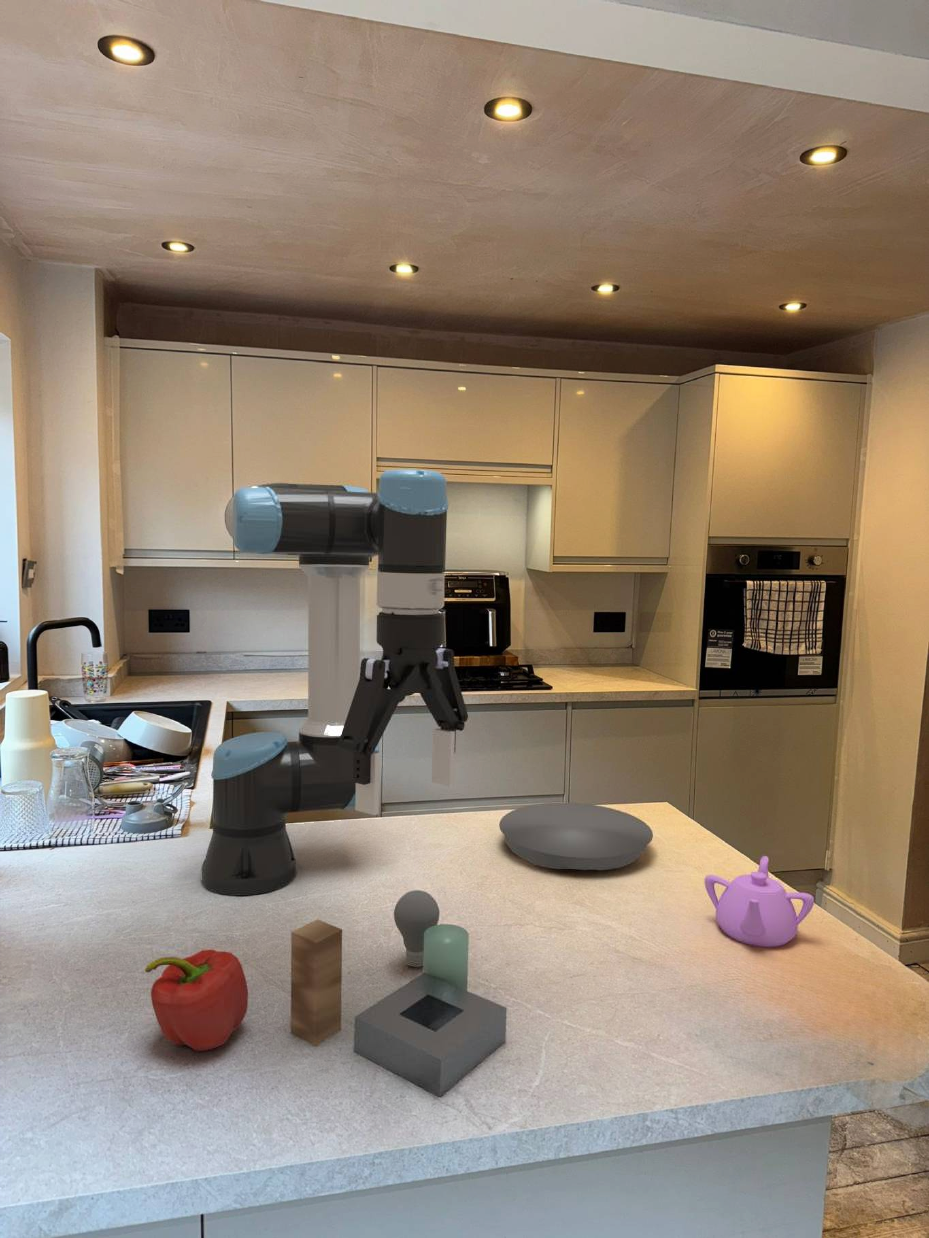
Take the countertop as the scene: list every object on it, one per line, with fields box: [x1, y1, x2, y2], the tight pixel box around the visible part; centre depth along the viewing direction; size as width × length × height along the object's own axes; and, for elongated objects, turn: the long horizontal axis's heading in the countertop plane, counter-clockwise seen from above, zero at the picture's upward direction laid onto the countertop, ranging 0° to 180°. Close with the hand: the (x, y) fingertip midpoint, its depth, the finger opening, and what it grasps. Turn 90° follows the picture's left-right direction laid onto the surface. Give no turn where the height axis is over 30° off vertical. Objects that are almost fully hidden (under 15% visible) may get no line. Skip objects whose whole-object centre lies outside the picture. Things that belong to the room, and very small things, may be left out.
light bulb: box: [393, 889, 440, 968], centre depth 109 cm, size 6×6×10 cm
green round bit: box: [422, 923, 470, 991], centre depth 102 cm, size 6×6×8 cm
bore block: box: [353, 972, 508, 1098], centre depth 92 cm, size 12×12×4 cm
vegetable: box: [144, 949, 249, 1052], centre depth 92 cm, size 11×10×10 cm
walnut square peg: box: [290, 919, 343, 1047], centre depth 94 cm, size 4×4×12 cm
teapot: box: [704, 855, 815, 948], centre depth 121 cm, size 12×14×9 cm
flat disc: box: [499, 802, 654, 871], centre depth 152 cm, size 28×28×4 cm
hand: (407, 797), depth 94 cm, fingers open, 13 cm apart
